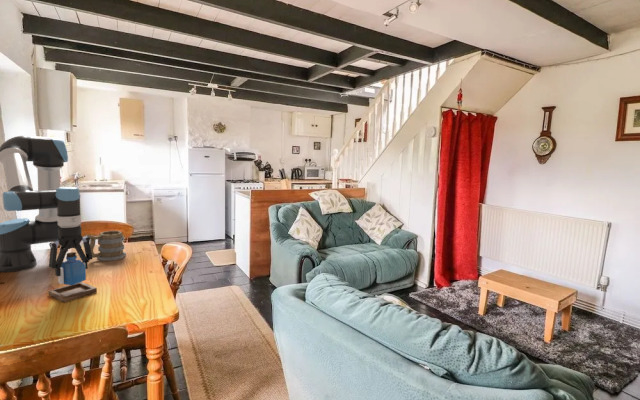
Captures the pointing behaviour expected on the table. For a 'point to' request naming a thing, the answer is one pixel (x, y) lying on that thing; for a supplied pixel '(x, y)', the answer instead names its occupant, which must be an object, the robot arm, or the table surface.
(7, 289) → the table surface
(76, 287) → the walnut tray
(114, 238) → the tankard
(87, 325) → the table surface
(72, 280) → the perfume bottle
